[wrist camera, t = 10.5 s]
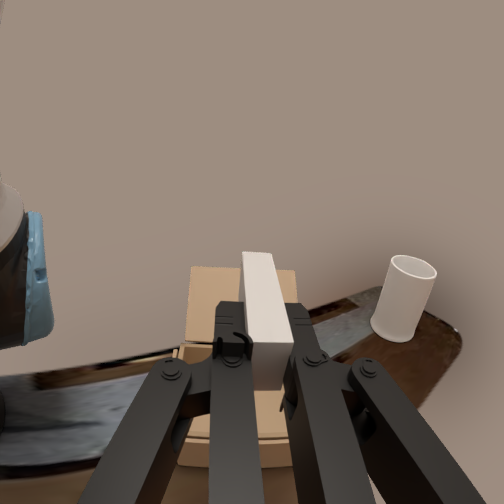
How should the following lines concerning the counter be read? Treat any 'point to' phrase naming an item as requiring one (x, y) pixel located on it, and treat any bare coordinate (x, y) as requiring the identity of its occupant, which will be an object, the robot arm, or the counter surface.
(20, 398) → the counter surface
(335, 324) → the counter surface
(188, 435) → the carton
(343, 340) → the counter surface
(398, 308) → the mug
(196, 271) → the flap
